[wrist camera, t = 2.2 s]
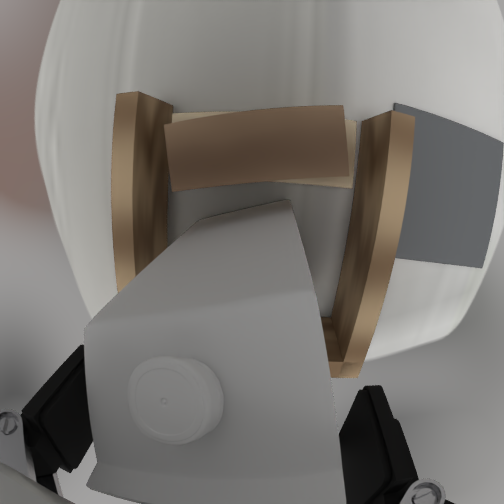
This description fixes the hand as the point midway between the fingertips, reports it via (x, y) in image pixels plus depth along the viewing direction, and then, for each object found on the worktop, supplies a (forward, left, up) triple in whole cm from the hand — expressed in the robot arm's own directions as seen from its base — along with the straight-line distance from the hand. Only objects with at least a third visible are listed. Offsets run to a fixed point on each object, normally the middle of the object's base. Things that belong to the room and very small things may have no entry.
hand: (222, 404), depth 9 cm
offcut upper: (-8, 0, -12) cm, 15 cm away
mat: (-8, +15, -15) cm, 22 cm away
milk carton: (-1, 0, -15) cm, 15 cm away
